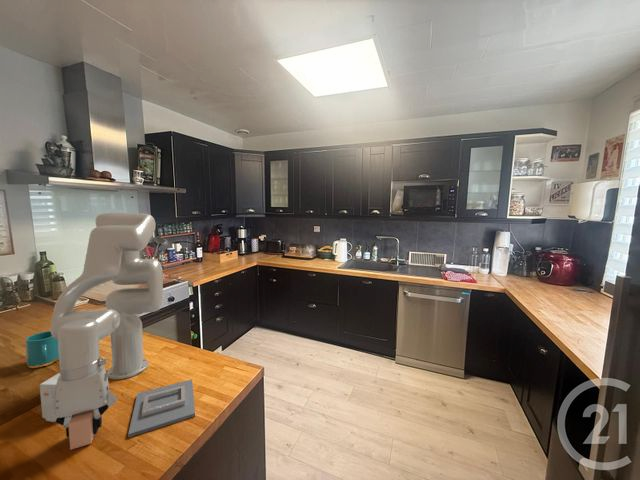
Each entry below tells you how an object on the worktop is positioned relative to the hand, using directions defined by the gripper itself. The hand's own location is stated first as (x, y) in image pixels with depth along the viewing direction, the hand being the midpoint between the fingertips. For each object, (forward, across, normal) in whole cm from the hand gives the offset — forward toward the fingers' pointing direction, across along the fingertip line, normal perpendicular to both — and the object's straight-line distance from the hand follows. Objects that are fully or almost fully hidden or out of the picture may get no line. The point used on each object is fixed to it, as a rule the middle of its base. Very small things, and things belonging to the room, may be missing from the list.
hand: (85, 432), depth 67 cm
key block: (+1, 0, 0) cm, 1 cm away
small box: (+2, +8, -15) cm, 17 cm away
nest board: (+1, -18, -4) cm, 18 cm away
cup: (+2, +24, -51) cm, 56 cm away
